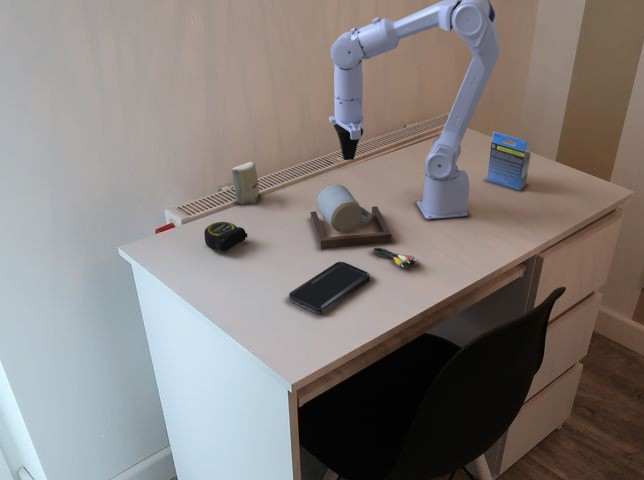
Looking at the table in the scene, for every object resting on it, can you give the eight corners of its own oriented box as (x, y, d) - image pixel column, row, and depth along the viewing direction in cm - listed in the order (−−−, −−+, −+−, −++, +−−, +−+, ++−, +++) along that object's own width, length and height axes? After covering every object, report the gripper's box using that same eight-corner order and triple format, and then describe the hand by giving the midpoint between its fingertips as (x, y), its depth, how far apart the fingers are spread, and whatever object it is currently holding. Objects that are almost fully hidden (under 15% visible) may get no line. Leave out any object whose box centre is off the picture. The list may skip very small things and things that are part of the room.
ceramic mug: (331, 237, 146) (331, 203, 142) (316, 219, 152) (315, 186, 147) (378, 228, 151) (380, 195, 146) (361, 211, 156) (362, 178, 152)
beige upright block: (239, 192, 160) (236, 159, 155) (262, 194, 160) (260, 160, 155) (233, 204, 155) (230, 170, 150) (257, 206, 155) (254, 171, 150)
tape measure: (223, 258, 138) (221, 241, 136) (198, 247, 141) (195, 230, 139) (248, 244, 143) (247, 227, 141) (223, 233, 146) (221, 216, 143)
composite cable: (370, 253, 142) (370, 242, 141) (388, 245, 145) (388, 235, 143) (403, 275, 137) (403, 264, 135) (421, 266, 139) (422, 255, 138)
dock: (376, 214, 155) (377, 206, 154) (391, 242, 146) (391, 234, 145) (310, 220, 152) (310, 211, 150) (320, 249, 143) (320, 240, 141)
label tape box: (526, 185, 170) (534, 135, 163) (519, 191, 167) (527, 141, 160) (493, 175, 174) (499, 126, 166) (485, 181, 171) (492, 131, 163)
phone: (372, 274, 134) (319, 310, 124) (372, 279, 135) (320, 316, 125) (339, 260, 137) (285, 294, 127) (339, 265, 138) (286, 299, 128)
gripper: (322, 85, 151) (323, 146, 159) (336, 109, 140) (337, 174, 148) (355, 83, 153) (354, 144, 161) (371, 108, 142) (370, 171, 150)
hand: (348, 158), depth 155 cm, fingers closed
